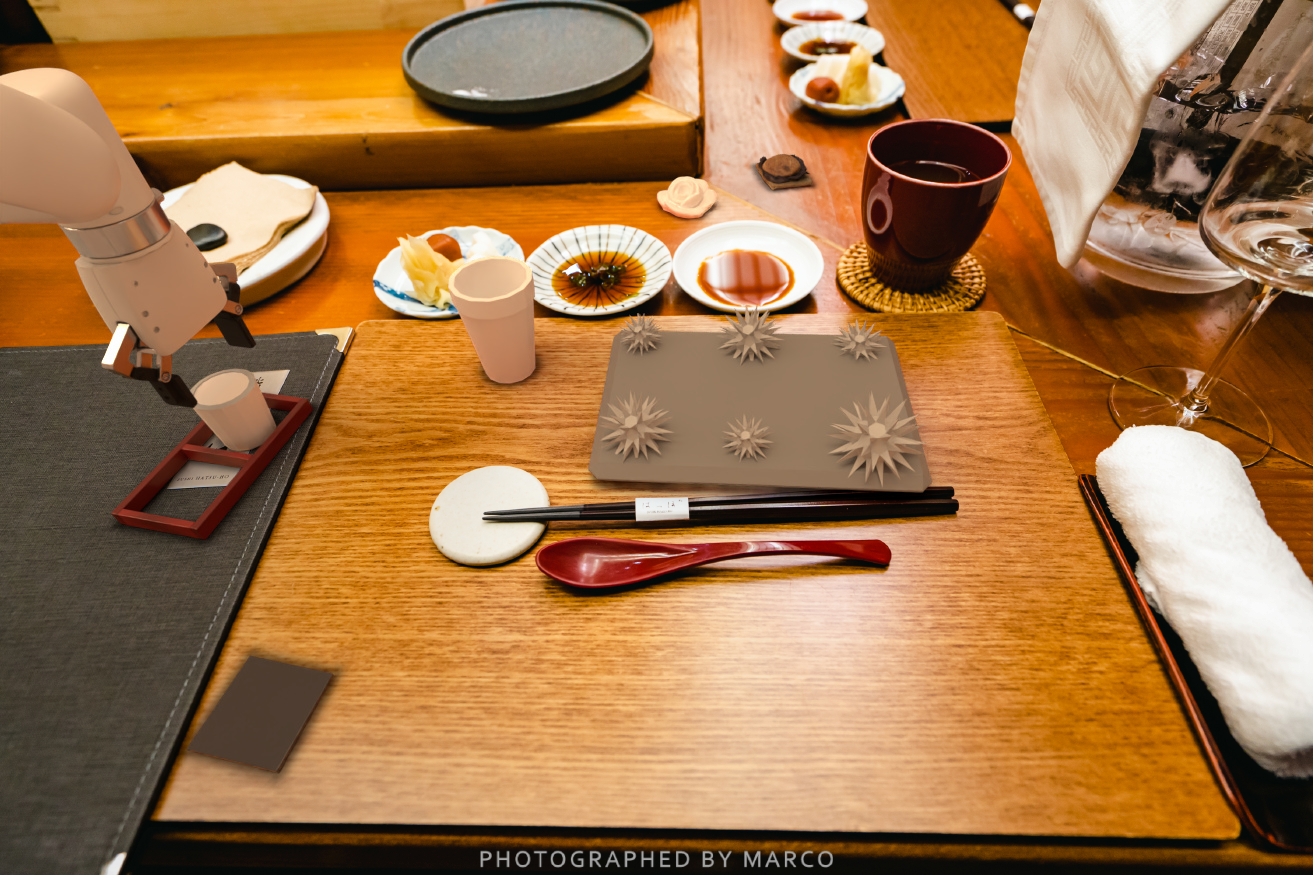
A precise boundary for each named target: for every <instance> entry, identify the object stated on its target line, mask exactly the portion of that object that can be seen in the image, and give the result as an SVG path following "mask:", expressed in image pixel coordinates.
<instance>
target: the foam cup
mask: <svg viewBox="0 0 1313 875" xmlns="http://www.w3.org/2000/svg"><path fill="white" fill-rule="evenodd" d="M447 285H448V286H447V288H448V292H449V295H450V298H451V301H452V305H453V306H454V308H455V309H456V310H457V312H458V314H459V317H460V319H461V322H462V323H463V326H464V328H465V330H466V332H467V335H468V337H469V339H470V341H471V343H472V346H473V348H474V351H475V353H476V355H477V357H478V359H479V362H480V364H481V366H482V368H483V370H484V372H485V374H486V376H487V377H488V379H489V380H490V381H494V382H496V383H498V384H514V383H518V382H522V381H524V380H525V379H527V378H528V377H530V376H531V375H532V374H533V372H534V371H535V370H536V335H535V307H534V306H535V304H534V299H535V297H536V284H535V280H534V275H533V269H532V268H531V266H529V265H528V263H526V262H525V261H524V260H521V259H519V258H515V257H513V256H504V255H503V256H502V255H501V256H499V255H490V256H485V257H480V258H476V259H472V260H469V261H468V262H466V263H464V264H462V265H460V266H458V267H457V268H456V269H455V271H454V272H452V274H450V276H449V278H448V284H447Z"/></svg>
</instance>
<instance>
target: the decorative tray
mask: <svg viewBox="0 0 1313 875" xmlns="http://www.w3.org/2000/svg"><path fill="white" fill-rule="evenodd" d="M733 309H734V312H735V314H736V318H737V321H738V322H737V321H735V320H734V319H732V318H730V317H729V316H727V315H726V314H724V316H725V318H726V320H727V321H728V322H729V323H730V324H731V326H732V327H733V328H731V327H725V326H720V325H719V326H718V327H719V328H721V329H722V330H721V331H717V332H716V331H679V330H678V331H677V330H676V331H675V330H674V331H673V330H671V331H670V330H661V329H662V327H660V326H661V324H658V325H656V324H657V323H658V321H656V322H654V320H655V318H653V316H650V317H647V318H645V314H643V315H642V316H641V315H640V314H637V317H636V318H637V319H635V318H633V317H632V316H631V315H629V317H630V320H631V323H632V324H631V323H630V322H628V321H626V320H625V319H623V321H624V322H625V324H626V327H628V328H626V327H621V326H619V329H621V330H620V331H619V332H617V333H616V334H614V336H613V340H612V345H611V349H610V354H609V361H608V365H607V370H606V375H605V379H604V380H605V381H604V386H603V391H602V396H601V402H600V406H599V411H598V417H597V422H596V426H595V432H594V436H593V437H594V438H593V444H592V446H591V447H592V448H591V453H590V458H589V463H588V468H587V469H588V472H589V473H590V474H591V475H592V476H593V477H594V478H595V479H596V480H597V481H611V482H612V481H614V482H635V483H636V482H637V483H639V482H641V483H663V484H664V483H666V484H688V485H689V484H690V485H691V484H692V485H718V486H719V485H720V486H741V487H742V486H745V487H746V486H747V487H748V486H749V487H770V488H771V487H772V488H794V489H795V488H796V489H824V490H848V491H849V490H850V491H851V490H852V491H872V492H873V491H875V492H876V491H877V492H903V493H924V491H925V490H927V488H928V487H930V486H931V485H932V483H933V479H932V475H931V471H930V468H929V464H928V461H927V460H928V459H927V457H926V453H925V450H924V446H923V445H928V443H927V442H924V441H922V439H921V435H920V431H919V428H921V427H923V426H924V424H921V425H918V423H917V420H916V418H917V417H918V416H919V415H920V413H917V414H916V415H915V413H914V409H913V406H912V402H911V399H910V395H909V392H908V388H907V384H906V381H905V377H904V374H903V370H902V366H901V362H900V359H899V355H898V352H897V348H896V345H895V344H896V343H895V342H894V341H893V340H892V339H891V338H890V337H889V336H888V335H881V332H882V331H883V329H881V330H878V331H876V332H873V333H872V331H873V328H874V326H875V325H876V322H874V323H873V324H872V325H871V326H870V327H869V328H868V329H867V321H868V320H867V319H868V318H866V319H865V320H864V323H863V325H862V327H861V329H860V325H859V322H858V319H857V317H856V319H855V322H854V323H855V324H854V325H851V324H850V322H849V321H847V324H848V326H846V329H847V331H846V330H845V329H843V328H841V327H840V326H839V327H838V328H839V332H840V333H841V334H818V333H817V334H816V333H815V334H813V333H810V334H809V333H775V332H776V331H778V330H780V329H782V326H778V327H774V326H775V325H777V324H779V322H775V321H776V320H777V319H778V317H776V318H773V319H772V320H770V321H767V319H768V317H769V315H770V313H771V312H770V311H769V309H770V308H768V309H767V310H766V311H765V312H764V313H763V315H762V316H761V317H760V318H759V314H760V311H758V305H756V307H755V309H754V310H753V309H752V311H751V313H750V312H749V308H748V306H747V304H745V313H744V315H745V316H744V317H743V316H742V314H741V313H740V312H739V311H738V310H737V308H733ZM766 321H767V322H766ZM653 322H654V323H653ZM774 322H775V323H774ZM866 329H867V330H866Z"/></svg>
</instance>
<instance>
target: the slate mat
mask: <svg viewBox="0 0 1313 875" xmlns="http://www.w3.org/2000/svg"><path fill="white" fill-rule="evenodd" d="M334 676H335V675H334V673H332V672H327V671H323V670H318V669H313V668H309V667H306V666H305V667H304V666H300V665H295V664H290V663H286V662H281V661H277V660H271V659H268V658H263V657H258V656H254V655H249V656H248V657H247V659H246V660H245V662H244V663H243V664H242V666H241V667H240V669H239V671H237V674H236V675H235V677H234V678H233V679H232V681H231V683H230V684H229V685H228V687H227V688H226V691H224V693H223V694H222V696H221V697H220V699H219V700H218V702H217V703H216V705H215V706H214V708H213V709H212V711H211V712H210V714H209V715H208V717H207V718H206V720H205V721H204V722H203V724H202V725H201V727H200V729H198V732H197V733H196V734H195V736H194V738H193V739H192V740H191V742H190V743H189V745H187V747H186V750H187V751H189V752H191V753H196V754H201V755H204V756H207V757H212V758H215V759H220V760H225V761H229V762H233V763H236V764H240V765H244V766H249V767H252V768H256V769H260V770H264V771H269V772H272V773H276V774H278V773H280V770H281V769H282V767H283V765H284V764H285V762H286V760H287V759H288V757H289V755H290V753H291V752H292V750H293V749H294V747H295V745H296V743H297V741H298V739H300V736H301V734H302V732H303V731H304V729H305V727H306V726H307V724H308V722H309V720H310V718H311V717H312V715H313V714H314V711H315V710H316V708H317V707H318V705H319V703H320V701H321V699H322V698H323V696H324V694H325V693H326V690H327V689H328V687H329V685H330V684H331V682H332V680H333V678H334Z"/></svg>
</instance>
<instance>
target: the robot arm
mask: <svg viewBox="0 0 1313 875" xmlns="http://www.w3.org/2000/svg"><path fill="white" fill-rule="evenodd" d="M164 201H165V195H164V194H163V192H162V191H160V190H159V189H158V188H155V187H150V185H149V184H148V182H147V180H146V178H145V177H144V174H142V172H141V170H140V168H139V167H138V164H136V162H135V160H134V158H133V157H132V155H131V153H130V151H129V149H128V147H127V146H126V145H125V143H124V141H123V140H122V138H121V136H120V134H119V133H118V131H117V130H116V128H115V126H114V124H113V122H112V121H111V119H110V118H109V116H108V114H107V113H106V111H105V108H103V106H102V104H101V102H100V100H99V99H98V97H97V95H96V94H95V93H94V91H93V90H92V88H91V86H90V85H89V84H88V83H87V82H86V81H85V80H84V79H83V78H82V77H81V76H80V75H78V74H76V73H74V72H72V71H70V70H67V69H64V68H57V67H56V68H55V67H38V68H37V67H36V68H27V69H21V70H18V71H14V72H13V71H12V72H9V73H6V74H5V73H4V74H2V75H0V225H6V224H7V225H8V224H53V225H54V224H56V225H58V226H59V228H60V229H61V230H62V232H63V233H64V235H65V236H66V237H67V239H68V241H69V242H70V243H71V245H73V247H74V248H75V250H76V251H77V253H78V254H79V255H80V256H79V257H78V258H77V259H76V260H74V265H75V268H76V270H77V273H78V275H79V278H80V280H81V282H82V284H83V287H84V289H85V290H86V293H87V294H88V296H89V298H90V300H91V302H92V304H93V305H94V308H95V309H96V310H97V312H98V314H99V315H100V317H101V319H102V321H103V322H104V323H105V325H106V326H107V328H108V329H109V331H110V332H111V334H112V337H111V340H110V342H109V344H108V347H107V349H106V351H105V354H104V356H103V358H102V361H101V368H102V369H103V370H106V371H108V372H110V373H112V374H115V375H117V376H120V377H121V378H123V379H127V380H134V381H141V382H149V383H150V385H151V386H152V388H153V390H155V391H156V393H157V394H158V396H159V397H160V398H161V400H162V401H163V402H164V403H165V404H167V405H169V406H175V407H176V406H177V407H184V408H189V409H193V408H194V407H195V406H196V405H197V404H198V403H197V402H198V401H197V400H196V398H195V397H194V396H193V394H192V393H191V391H190V390H191V389H190V388H189V387H188V385H187V383H185V381H184V380H183V379H182V377H181V376H180V375H179V374H175V373H173V354H175V353H176V352H177V351H178V350H180V349H181V348H182V347H184V345H186V344H187V343H188V342H189V341H190V340H191V339H192V338H193V337H194V336H196V335H197V334H198V333H199V332H200V331H201V330H202V329H203V328H204V327H205V326H207V325H208V324H209V323H210V322H211V321H212V320H213V322H214V323H215V325H216V326H217V329H218V330H219V331H220V334H221V335H222V336H223V338H224V340H225V341H226V344H228V345H229V346H230V347H238V348H246V349H254V348H255V347H256V345H257V342H256V340H255V339H254V337H253V335H252V333H251V331H250V329H249V328H248V326H247V324H246V322H245V321H244V319H243V317H242V313H243V311H244V309H243V308H244V307H243V306H242V304H241V303H240V297H241V285H240V284H239V283H238V281H239V280H238V279H239V278H238V271H237V265H236V264H235V263H234V262H229V261H228V262H227V261H216V262H215V261H214V262H208V260H207V259H206V257H205V256H204V254H203V253H202V252H201V250H200V249H199V248H198V246H197V245H196V244H195V243H194V241H193V240H192V239H191V238H190V236H188V234H187V233H186V232H185V231H184V229H182V227H181V226H180V225H179V224H178V223H177V222H176V221H175V220H173V219H171V218H169V217H168V215H167V214H166V212H165V211H164V209H163V207H162V206H161V204H162V202H164ZM134 352H136V365H135V364H134V363H132V362H131V360H130V357H131V354H132V353H134ZM154 356H156V361H155V363H156V364H155V365H156V366H155V367H153V361H154V360H153V357H154Z"/></svg>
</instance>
